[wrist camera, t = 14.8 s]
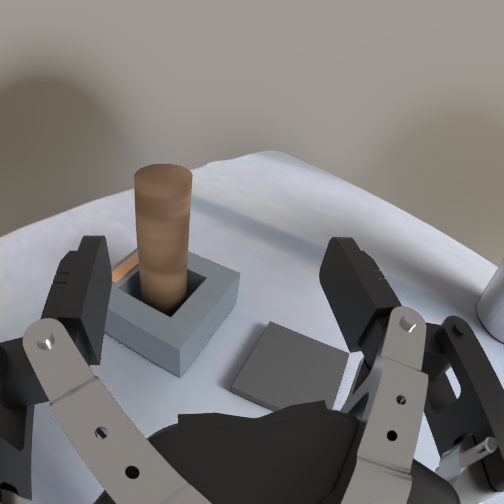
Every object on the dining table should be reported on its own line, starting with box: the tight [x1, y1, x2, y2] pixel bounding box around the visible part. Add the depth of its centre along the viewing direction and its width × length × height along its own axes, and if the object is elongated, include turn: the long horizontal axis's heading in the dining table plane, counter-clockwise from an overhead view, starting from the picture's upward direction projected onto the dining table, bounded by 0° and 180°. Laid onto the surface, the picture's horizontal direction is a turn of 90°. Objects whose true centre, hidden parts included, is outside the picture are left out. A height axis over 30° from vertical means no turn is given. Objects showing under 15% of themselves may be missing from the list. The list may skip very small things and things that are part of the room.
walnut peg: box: [134, 164, 192, 317], centre depth 25 cm, size 4×4×14 cm
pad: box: [231, 321, 349, 411], centre depth 26 cm, size 8×8×1 cm
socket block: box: [104, 248, 240, 378], centre depth 28 cm, size 10×10×4 cm
